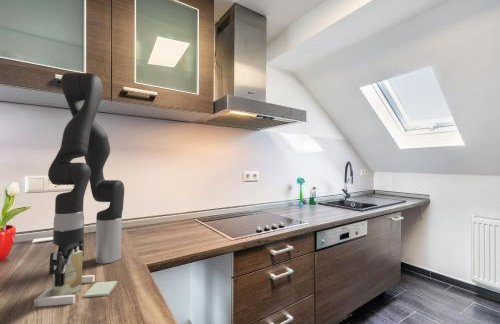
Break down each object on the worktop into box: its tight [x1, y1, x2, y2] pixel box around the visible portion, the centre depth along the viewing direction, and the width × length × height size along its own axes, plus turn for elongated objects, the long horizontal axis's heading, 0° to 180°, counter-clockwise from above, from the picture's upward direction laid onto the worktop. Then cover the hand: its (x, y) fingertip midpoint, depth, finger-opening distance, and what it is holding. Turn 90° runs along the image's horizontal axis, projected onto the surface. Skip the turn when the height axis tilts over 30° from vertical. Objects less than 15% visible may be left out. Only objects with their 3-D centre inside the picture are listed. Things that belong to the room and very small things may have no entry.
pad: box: [83, 280, 118, 298], centre depth 75 cm, size 8×7×1 cm
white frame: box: [33, 274, 95, 308], centre depth 73 cm, size 14×10×2 cm
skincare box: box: [51, 250, 84, 297], centre depth 73 cm, size 6×4×12 cm
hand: (67, 279), depth 73 cm, fingers open, 8 cm apart
